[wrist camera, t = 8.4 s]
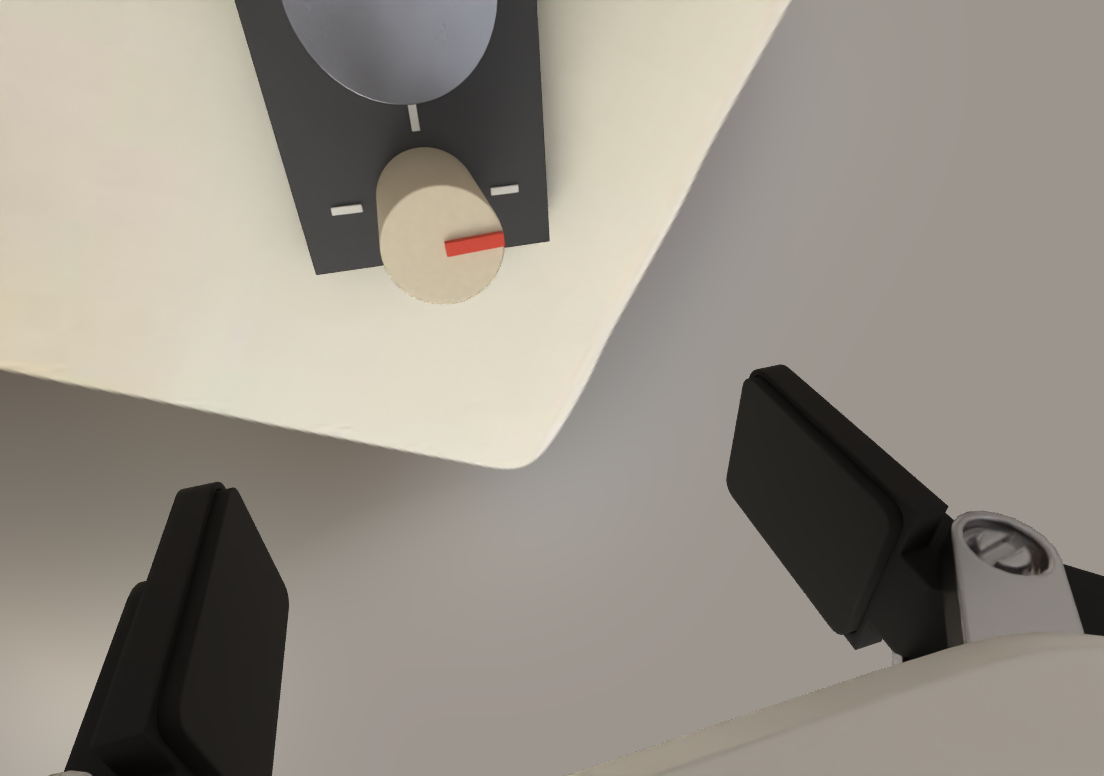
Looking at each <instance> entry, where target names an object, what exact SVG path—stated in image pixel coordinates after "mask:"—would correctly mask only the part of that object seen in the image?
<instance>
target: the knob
mask: <svg viewBox="0 0 1104 776" xmlns="http://www.w3.org/2000/svg"><path fill="white" fill-rule="evenodd" d="M376 202H377V216H378V229H379V243H380V253H381V258H382V261H383V264H384V267H385V269H386V271H387V273H388V275H389V276H390V277H391V279H392V280H393V281H394V283H395V284H396V285H397V286H398V287H399V288H400V289H402V290H403V291H404V292H405V293H407V294H409V295H410V296H412V297H414V298H416V299H418V300H421V301H424V302H428V303H432V304H452V303H458V302H461V301H464V300H467V299H469V298H471V297H473V296H475V295H477V294H478V293H479V292H481V291H482V290H483V289H485V288H486V287H487V286H488V285H489V284H490V282H491V281H492V280H493V279H494V277H495V275H496V274H497V272H498V270H499V268H500V266H501V263H502V260H503V255H504V246H505V240H504V233H503V230H502V227H501V224H500V221H499V219H498V217H497V215H496V214H495V212H494V210H493V209H492V207H491V206H490V204H489V203H488V201H487V199H486V198H485V196H484V195H483V193H482V192H481V190H480V188H479V187H478V185H477V184H476V182H475V181H474V179H473V177H472V176H471V174H470V173H469V171H468V170H467V168H466V167H465V166H464V165H463V164H462V163H461V162H460V161H459V160H458V159H457V158H456V157H454V156H453V155H451V154H449V153H447V152H445V151H443V150H440V149H436V148H431V147H419V148H413V149H409V150H407V151H404V152H402V153H400V154H398V155H397V156H396V157H394V158H393V159H392V160H391V161H390V162H389V163H388V164H387V165H386V167H385V168H384V169H383V171H382V173H381V175H380V177H379V180H378V184H377V189H376Z"/></svg>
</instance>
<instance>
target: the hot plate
mask: <svg viewBox="0 0 1104 776" xmlns="http://www.w3.org/2000/svg"><path fill="white" fill-rule="evenodd" d="M235 3H236V7H237V10H238V13H239V17H240V20H241V24H242V27H243V30H244V34H245V37H246V40H247V44H248V47H249V50H250V54H251V57H252V61H253V64H254V67H255V71H256V74H257V77H258V81H259V84H260V87H261V91H262V94H263V97H264V101H265V104H266V108H267V111H268V114H269V118H270V121H271V124H272V128H273V131H274V134H275V138H276V141H277V145H278V148H279V151H280V155H281V158H282V161H283V165H284V168H285V171H286V175H287V178H288V182H289V185H290V188H291V192H292V195H293V198H294V202H295V205H296V208H297V212H298V215H299V219H300V222H301V225H302V229H303V232H304V235H305V239H306V242H307V245H308V249H309V252H310V256H311V259H312V262H313V266H314V269H315V272H316V275H320V274H327V273H334V272H341V271H348V270H354V269H361V268H368V267H375V266H382V265H384V264H383V261H382V258H381V253H380V243H379V229H378V216H377V202H376V189H377V184H378V180H379V177H380V175H381V173H382V171H383V169H384V168H385V167H386V165H387V164H388V163H389V162H390V161H391V160H392V159H393V158H394V157H396V156H397V155H398V154H400V153H402V152H404V151H407V150H409V149H413V148H419V147H431V148H436V149H440V150H443V151H445V152H447V153H449V154H451V155H453V156H454V157H456V158H457V159H458V160H459V161H460V162H461V163H462V164H463V165H464V166H465V167H466V168H467V170H468V171H469V173H470V174H471V176H472V177H473V179H474V181H475V182H476V184H477V185H478V187H479V188H480V190H481V192H482V193H483V195H484V196H485V198H486V199H487V201H488V203H489V204H490V206H491V207H492V209H493V210H494V212H495V214H496V215H497V217H498V219H499V221H500V224H501V227H502V230H503V233H504V240H505V246H504V248H506V247H513V246H520V245H527V244H533V243H540V242H547V241H549V240H550V239H549V221H548V202H547V184H546V165H545V147H544V128H543V110H542V91H541V73H540V54H539V36H538V17H537V0H498V4H497V15H496V20H495V25H494V29H493V33H492V36H491V39H490V42H489V44H488V47H487V49H486V51H485V53H484V55H483V57H482V59H481V60H480V62H479V63H478V65H477V67H476V68H475V69H474V70H473V72H472V73H471V74H470V75H469V76H468V78H466V79H465V80H464V81H463V82H462V83H461V84H460V85H459V86H458V87H456V88H455V89H453V90H452V91H450V92H449V93H447V94H445V95H443V96H441V97H439V98H437V99H434V100H431V101H428V102H425V103H420V104H414V105H394V104H385V103H381V102H378V101H374V100H371V99H368V98H366V97H363V96H361V95H358V94H356V93H355V92H353V91H351V90H349V89H347V88H346V87H344V86H343V85H341V84H340V83H338V82H337V81H336V80H334V79H333V78H332V77H331V76H330V75H328V74H327V73H326V72H325V71H324V70H323V69H322V68H321V67H320V66H319V65H318V64H317V63H316V62H315V60H314V59H313V58H312V57H311V56H310V55H309V53H308V52H307V51H306V49H305V48H304V46H303V45H302V44H301V42H300V41H299V39H298V37H297V35H296V34H295V32H294V30H293V28H292V27H291V24H290V22H289V20H288V18H287V15H286V13H285V11H284V8H283V5H282V1H281V0H235Z"/></svg>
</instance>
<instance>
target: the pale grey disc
mask: <svg viewBox="0 0 1104 776" xmlns="http://www.w3.org/2000/svg"><path fill="white" fill-rule="evenodd" d="M281 1H282V5H283V8H284V11H285V13H286V15H287V18H288V20H289V22H290V24H291V27H292V28H293V30H294V32H295V34H296V35H297V37H298V39H299V41H300V42H301V44H302V45H303V46H304V48H305V49H306V51H307V52H308V53H309V55H310V56H311V57H312V58H313V59H314V60H315V62H316V63H317V64H318V65H319V66H320V67H321V68H322V69H323V70H324V71H325V72H326V73H327V74H328V75H330V76H331V77H332V78H333V79H334V80H336V81H337V82H338V83H340V84H341V85H343V86H344V87H346V88H347V89H349V90H351V91H353V92H355V93H356V94H358V95H361V96H363V97H366V98H368V99H371V100H374V101H378V102H381V103H385V104H394V105H414V104H420V103H425V102H428V101H431V100H434V99H437V98H439V97H441V96H443V95H445V94H447V93H449V92H450V91H452V90H453V89H455V88H456V87H458V86H459V85H460V84H461V83H462V82H463V81H464V80H465V79H466V78H468V76H469V75H470V74H471V73H472V72H473V70H474V69H475V68H476V67H477V65H478V63H479V62H480V60H481V59H482V57H483V55H484V53H485V51H486V49H487V47H488V44H489V42H490V39H491V36H492V33H493V29H494V25H495V20H496V15H497V4H498V0H281Z"/></svg>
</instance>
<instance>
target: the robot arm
mask: <svg viewBox="0 0 1104 776" xmlns="http://www.w3.org/2000/svg"><path fill="white" fill-rule="evenodd" d="M726 481H727V486H728V490H729V492H730V494H731V495H732V497H733V498H734V499H735V501H736V502H737V504H738V505H739V506H740V508H741V509H742V510H743V511H744V513H745V514H746V515H747V517H748V518H749V520H750V521H751V522H752V524H753V525H754V526H755V528H756V529H757V530H758V532H759V533H760V534H761V536H762V537H763V538H764V540H765V541H766V542H767V544H768V545H769V546H770V547H771V549H772V550H773V551H774V553H775V554H776V556H777V557H778V558H779V559H780V561H781V562H782V564H783V565H784V566H785V568H786V569H787V570H788V572H789V573H790V574H791V576H792V577H793V578H794V579H795V581H796V582H797V584H798V585H799V586H800V588H801V589H802V590H803V592H804V593H805V594H806V595H807V597H808V598H809V599H810V601H811V602H812V604H813V605H814V606H815V608H816V609H817V610H818V611H819V613H820V614H821V615H822V617H823V618H824V620H825V621H826V622H827V624H828V625H829V626H830V627H831V629H832V630H833V631H835V632H836V633H837V634H840V635H844V636H845V637H846V638H847V640H848V641H849V642H850V644H851V645H852V646H853V648H854V649H855V650H857V649H860V648H863V647H866V646H869V645H872V644H875V643H878V642H881V641H882V639H883V640H884V641H885V642H886V643H887V644H888V646H889V647H890V648H891V650H892V663H893V664H892V666H891V667H887V668H884V669H881V670H878V671H875V672H871V673H869V674H865V675H862V676H860V677H856V678H853V679H850V680H847V681H844V682H841V683H838V684H835V685H832V686H830V687H826V688H823V689H820V690H817V691H815V692H811V693H808V694H806V695H802V696H799V697H796V698H794V699H791V700H788V701H784V702H781V703H779V704H776V705H773V706H770V707H767V708H764V709H761V710H758V711H755V712H752V713H749V714H746V715H743V716H740V717H737V718H734V719H731V720H728V721H725V722H722V723H719V724H716V725H713V726H710V727H707V728H704V729H701V730H698V731H695V732H693V733H690V734H687V735H684V736H681V737H678V738H675V739H672V740H669V741H666V742H663V743H660V744H657V745H654V746H651V747H648V748H645V749H642V750H639V751H637V752H634V753H631V754H628V755H625V756H622V757H619V758H616V759H613V760H610V761H607V762H604V763H601V764H599V765H595V766H593V767H590V768H587V769H584V770H581V771H578V772H575V773H572V774H569V775H566V776H1104V576H1101V575H1098V574H1094V573H1091V572H1088V571H1085V570H1081V569H1078V568H1075V567H1071V566H1068V565H1065V564H1063V563H1062V560H1061V558H1060V556H1059V554H1058V552H1057V550H1056V548H1055V547H1054V546H1053V545H1052V544H1051V543H1050V542H1049V541H1048V540H1047V539H1046V538H1045V536H1043V535H1042V534H1040V533H1039V532H1038V531H1036V530H1035V529H1033V528H1032V527H1030V526H1029V525H1027V524H1025V523H1022V522H1021V521H1019V520H1017V519H1015V518H1012V517H1009V516H1005V515H1002V514H999V513H994V512H987V511H971V512H966V513H964V514H962V515H959V516H958V517H957V518H956V519H955V520H953V519H952V518H951V517H950V516H948V515H947V514H946V513H945V512H946V510H947V508H948V505H946V504H945V503H944V502H943V501H942V500H941V499H939V498H938V497H937V496H936V495H935V494H934V493H933V492H931V491H930V490H929V489H928V488H927V487H926V486H924V485H923V484H922V483H921V482H920V481H919V480H917V479H916V478H915V477H914V476H913V475H912V474H911V473H909V472H908V471H907V470H906V469H905V468H904V467H903V466H901V465H900V464H899V463H898V462H897V461H895V460H894V459H893V458H892V457H891V456H890V455H889V454H887V453H886V452H885V451H884V450H883V449H882V448H881V447H879V446H878V445H877V444H876V443H875V442H874V441H873V440H871V439H870V438H869V437H868V436H867V435H866V434H864V433H863V432H862V431H861V430H860V429H858V428H857V427H856V426H855V425H854V424H853V423H852V422H851V421H849V420H848V419H847V418H846V417H845V416H844V415H842V414H841V413H840V412H839V411H838V410H837V409H836V408H834V407H833V406H832V405H831V404H830V403H829V402H827V401H826V400H825V399H824V398H823V397H822V396H821V395H819V394H818V393H817V392H816V391H815V390H814V389H812V388H811V387H810V386H809V385H808V384H807V383H805V382H804V381H803V380H802V379H801V378H800V377H799V376H797V375H796V374H795V373H794V372H793V371H792V370H790V369H789V368H788V367H787V366H785V365H775V366H771V367H766V368H761V369H757V370H754V371H753V372H752V373H751V374H750V377H749V379H746V380H745V381H744V383H743V387H742V394H741V399H740V405H739V410H738V415H737V421H736V427H735V433H734V439H733V444H732V449H731V455H730V461H729V466H728V472H727V479H726ZM288 610H289V599H288V593H287V589H286V587H285V584H284V583H283V580H282V578H281V576H280V575H279V572H278V570H277V568H276V566H275V564H274V562H273V560H272V558H271V556H270V554H269V552H268V550H267V548H266V546H265V544H264V542H263V541H262V538H261V536H260V534H259V532H258V530H257V528H256V526H255V524H254V522H253V520H252V518H251V516H250V514H249V512H248V510H247V508H246V506H245V504H244V502H243V500H242V498H241V496H240V494H239V492H238V491H237V489H236V488H229V489H226V488H225V487H224V485H223V484H222V483H221V482H214V483H209V484H204V485H200V486H195V487H190V488H186V489H181V490H180V491H179V492H178V493H177V495H176V497H175V500H174V503H173V506H172V509H171V512H170V515H169V517H168V520H167V524H166V526H165V529H164V532H163V535H162V538H161V540H160V544H159V546H158V549H157V552H156V555H155V558H154V561H153V563H152V567H151V569H150V573H149V575H148V578H147V581H144V582H140V583H138V584H137V585H136V586H135V587H134V588H133V589H132V591H131V593H130V595H129V597H128V599H127V602H126V604H125V607H124V610H123V613H122V615H121V618H120V621H119V623H118V626H117V629H116V632H115V634H114V637H113V640H112V642H111V645H110V648H109V651H108V653H107V656H106V659H105V661H104V664H103V667H102V670H101V672H100V675H99V678H98V680H97V683H96V686H95V689H94V691H93V694H92V697H91V700H90V702H89V705H88V708H87V710H86V713H85V716H84V719H83V721H82V724H81V727H80V729H79V732H78V735H77V738H76V740H75V743H74V746H73V748H72V751H71V754H70V757H69V759H68V762H67V765H66V767H65V770H64V772H61V773H57V774H52V775H50V776H272V769H273V759H274V749H275V740H276V730H277V719H278V710H279V700H280V690H281V680H282V670H283V660H284V650H285V641H286V631H287V621H288Z"/></svg>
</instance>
